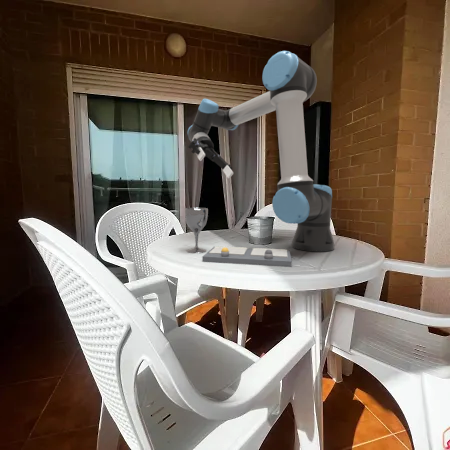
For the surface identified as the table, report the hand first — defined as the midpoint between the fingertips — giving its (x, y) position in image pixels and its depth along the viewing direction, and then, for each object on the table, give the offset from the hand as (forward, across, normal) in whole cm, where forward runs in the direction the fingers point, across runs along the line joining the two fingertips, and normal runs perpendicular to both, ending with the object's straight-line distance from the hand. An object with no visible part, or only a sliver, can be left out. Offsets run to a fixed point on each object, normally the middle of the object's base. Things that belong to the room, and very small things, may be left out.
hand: (217, 167), depth 97 cm
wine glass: (+17, -4, -26) cm, 31 cm away
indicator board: (+30, -12, -12) cm, 35 cm away
